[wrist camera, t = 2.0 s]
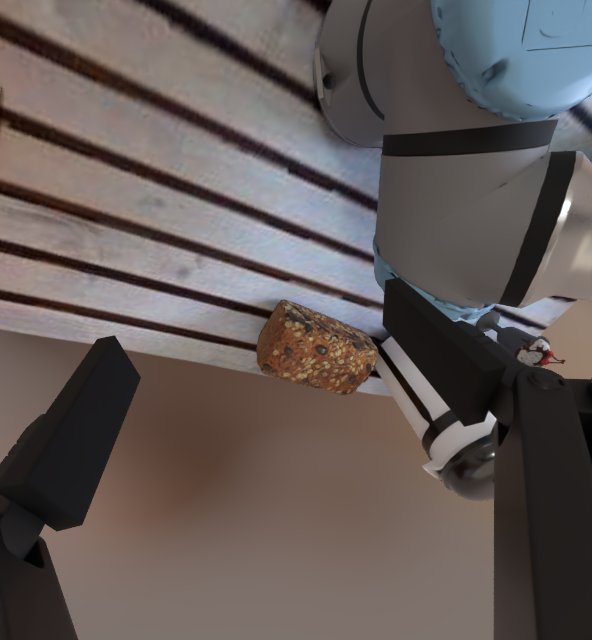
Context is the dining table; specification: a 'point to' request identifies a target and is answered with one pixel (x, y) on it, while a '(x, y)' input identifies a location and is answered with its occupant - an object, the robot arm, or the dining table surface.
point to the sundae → (518, 342)
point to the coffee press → (440, 427)
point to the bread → (314, 350)
